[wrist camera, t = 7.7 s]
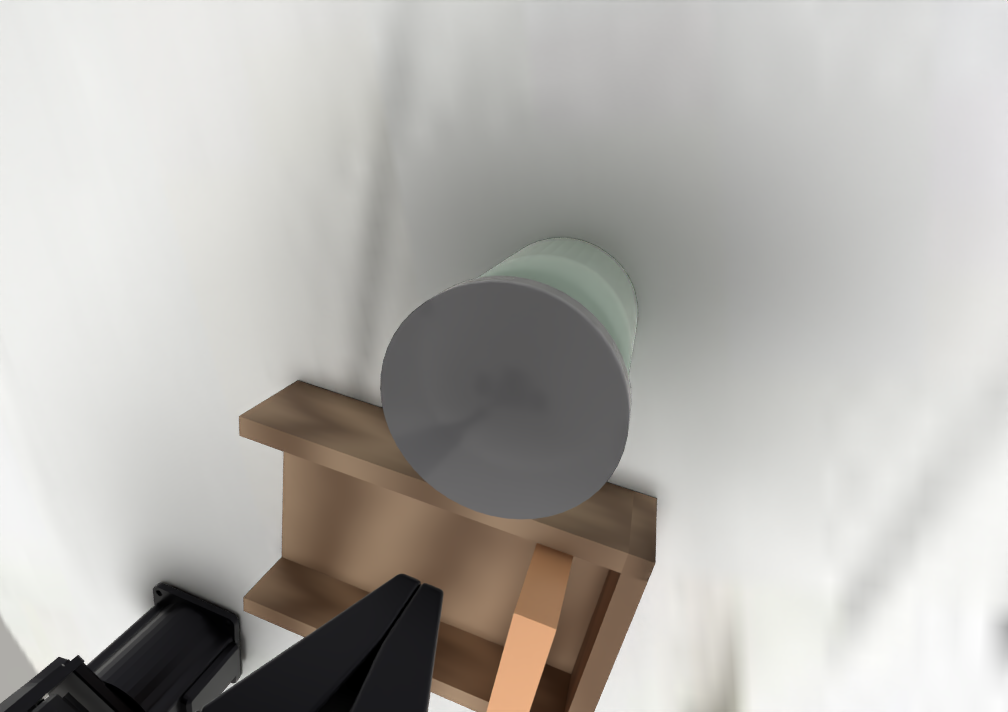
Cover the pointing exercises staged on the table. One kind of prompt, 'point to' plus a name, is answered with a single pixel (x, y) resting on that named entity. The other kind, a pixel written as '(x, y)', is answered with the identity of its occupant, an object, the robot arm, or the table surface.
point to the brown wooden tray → (441, 551)
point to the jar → (517, 381)
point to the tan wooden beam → (531, 631)
